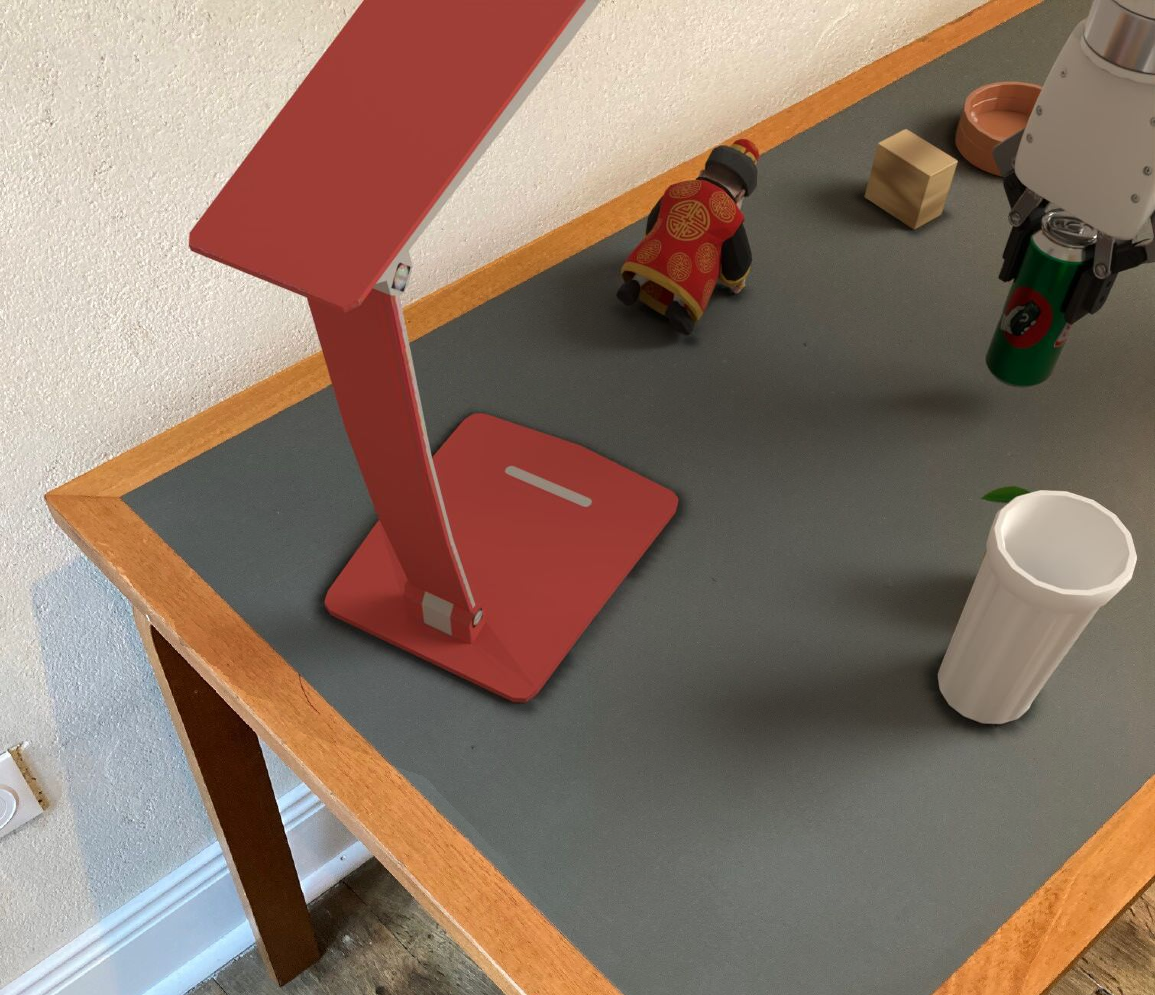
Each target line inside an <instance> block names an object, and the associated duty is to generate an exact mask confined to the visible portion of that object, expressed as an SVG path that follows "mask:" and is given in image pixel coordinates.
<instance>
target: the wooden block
mask: <svg viewBox="0 0 1155 995" xmlns="http://www.w3.org/2000/svg"><path fill="white" fill-rule="evenodd" d="M958 162H959V161H958V159H956V158H954V157H952V156H951V155H950V154H948V153H946V152H944V151H942V150H941V149H940V148H938V147H936V146H935V145H934V144H932V143H930V142H928V141H927V140H925V139H923V138H922V137H920V136H919V135H917V134H915V133H914V132H912V131H910V130H909V129H907V128H905V129H902V130H901V131H898V132H897V133H895V134H893V135H891V136H889V137H887V138H885V139H884V140H881V141H879V142H877V145H876V149H875V153H874V157H873V161H872V164H871V165H872V166H871V169H870V173H869V178H868V181H867V186H866V189H865V194H864V198H865V199H866V200H868V201H870V202H871V203H873V204H874V205H875V206H877V207H878V208H880V209H882V210H883V211H885V212H886V213H888V214H890V215H891V216H892V217H894V218H895V219H897V220H898V221H900V222H902V223H903V224H905V225H906V226H907V227H909V228H911V229H912V230H914V231H915V230H916V229H918V228H920V227H922V226H923V225H926V224H927V223H929V222H930V221H933V220H935V219H936V218H938V217H939V216H941V215H942V213H943V211H944V207H945V204H946V202H947V201H946V200H947V197H948V194H949V191H950V187H951V184H952V181H953V178H954V175H955V171H956V168H957V165H958Z"/></svg>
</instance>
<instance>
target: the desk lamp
mask: <svg viewBox="0 0 1155 995" xmlns="http://www.w3.org/2000/svg"><path fill="white" fill-rule="evenodd" d="M601 1H602V0H362V2H361V3H360V4H359V6H357V8H356V10H355V11H354V12H353V14H352V15H351V16H350V18H349V19H348V20H347V21H346V23H345V24H344V26H343V27H342V28H341V29H340V31H339V32H338V34H337V35H336V36H335V38H334V39H333V40H332V42H331V43H330V44H329V46H328V47H327V48H326V50H325V51H324V52H323V54H322V55H321V57H320V58H319V59H318V61H317V62H316V63H315V64H314V65H313V67H312V69H311V70H310V71H309V72H308V74H306V76H305V78H304V79H303V80H302V82H301V83H300V84H299V86H298V87H297V88H296V90H295V91H294V92H293V94H292V95H291V97H290V98H288V101H287V102H286V103H285V104H284V106H283V107H282V108H281V109H280V111H279V112H278V114H277V115H276V116H275V118H274V119H273V121H272V122H271V123H270V124H269V126H268V127H267V128H266V129H265V131H264V132H263V133H262V135H261V136H260V137H259V139H258V141H257V142H256V143H255V145H254V146H253V147H252V149H251V150H250V151H249V152H248V154H247V155H246V157H245V158H244V159H243V161H242V162H241V163H240V165H239V166H238V167H237V168H236V169H235V171H234V173H232V175H231V176H230V178H229V180H228V181H227V182H226V183H225V184H224V185H223V187H222V188H221V190H220V191H219V193H217V195H216V196H215V198H214V199H213V200H212V202H211V203H210V205H208V207H207V208H206V210H205V211H204V212H203V214H202V215H201V217H200V218H199V219H198V221H196V223H195V225H194V226H193V227H192V229H191V230H190V231H189V235H188V247H189V249H190V251H191V252H192V253H195V254H197V255H200V256H202V257H205V258H207V259H210V260H212V261H215V262H217V263H220V264H222V265H224V266H227V267H230V268H232V269H234V270H237V271H239V272H242V273H244V274H247V275H250V276H252V277H255V278H256V279H259V280H262V281H265V282H267V283H269V284H272V285H274V286H277V287H280V288H282V289H284V290H287V291H289V292H291V293H295V294H297V295H299V296H301V297H304V298H306V300H307V304H308V307H309V310H310V314H311V317H312V320H313V324H314V328H315V332H316V334H317V338H318V341H319V344H320V348H321V352H322V354H323V358H324V362H325V365H326V369H327V372H328V375H329V378H330V379H329V380H330V382H331V385H332V389H333V393H334V396H335V400H336V402H337V403H336V404H337V406H338V410H339V414H340V416H341V419H342V420H341V421H342V423H343V427H344V430H345V433H346V435H347V438H348V440H349V443H350V446H351V449H352V452H353V454H354V457H355V459H356V462H357V465H358V468H359V470H360V473H361V476H362V478H363V481H364V484H365V486H366V489H367V491H368V495H369V497H370V500H371V502H372V506H373V508H374V510H375V513H376V515H377V517H378V521H377V522H376V523H375V525H374V526H373V527H372V529H371V530H370V532H369V533H368V534H367V535H366V537H365V539H364V540H363V541H362V543H361V544H360V545H359V547H358V548H357V550H356V551H355V552H354V554H353V555H352V557H351V558H350V560H348V563H347V564H346V565H345V567H344V568H343V569H342V571H341V572H340V573H339V575H338V576H337V577H336V579H335V581H334V582H333V583H332V585H331V586H330V587H329V589H328V590H327V593H326V595H325V598H324V606H325V609H326V610H327V612H328V613H329V614H330V616H332V617H334V618H337V619H338V620H341V621H343V622H345V623H347V624H348V625H351V626H353V627H355V628H357V629H360V630H362V631H363V632H366V633H368V634H369V635H372V636H374V637H376V638H378V639H380V640H382V641H384V642H387V643H389V644H390V645H393V646H395V647H397V648H399V649H401V650H403V651H406V652H407V653H410V654H411V655H414V656H416V657H418V658H420V659H422V660H424V661H426V662H429V663H431V664H433V665H435V666H437V667H439V668H441V669H443V670H445V671H448V672H450V673H451V674H454V675H456V676H458V677H460V678H462V679H464V680H465V681H468V682H470V683H472V684H474V685H477V686H479V687H481V688H483V689H485V690H487V691H489V692H491V693H493V694H495V695H497V696H500V697H501V698H504V699H506V700H508V701H510V702H512V703H527V702H529V701H530V700H532V699H533V698H534V697H536V696H537V695H538V694H539V693H540V691H541V690H542V688H543V687H544V686H545V684H546V683H547V681H548V680H549V679H550V677H551V676H552V675H553V673H554V672H555V671H556V669H557V668H558V667H559V665H560V664H561V663H562V661H563V660H564V659H565V658H566V656H567V655H568V653H569V652H570V650H571V649H572V648H573V647H574V645H575V644H576V643H577V642H578V640H579V639H580V638H581V636H582V635H583V633H584V632H585V630H587V628H588V627H589V625H590V624H591V623H592V621H593V620H594V618H595V617H597V615H598V613H599V612H600V611H601V610H602V609H603V607H604V606H605V604H606V603H607V602H608V601H609V599H610V598H611V597H612V595H613V594H614V593H615V592H616V591H617V589H618V588H619V587H620V585H621V584H622V582H623V581H624V580H625V579H626V577H627V576H628V575H629V574H630V572H631V571H632V570H633V568H634V567H635V565H636V564H637V563H638V562H639V561H640V559H641V558H642V557H643V555H644V554H645V553H646V551H648V549H649V548H650V546H651V545H652V544H653V542H655V540H656V538H657V537H658V536H659V535H660V533H661V532H662V531H663V530H664V528H665V527H666V526H667V525H668V523H669V522H670V520H671V519H673V516H674V515H675V514H676V513H677V509H678V505H679V497H678V496H677V495H676V493H675V492H674V491H673V490H671V489H669V488H668V487H665V486H663V485H661V484H659V483H657V482H655V481H653V480H651V479H649V478H647V477H645V476H644V475H643V476H642V475H641V474H639V473H637V472H635V471H633V470H631V469H628V468H627V467H625V466H622V465H621V464H619V463H618V462H614V461H613V460H611V459H609V458H607V457H605V456H603V455H601V454H600V453H597V452H595V451H593V450H591V449H589V448H587V447H585V446H583V445H580V444H577V443H574V442H572V441H569V440H565V439H562V438H559V437H556V436H553V435H551V434H547V433H544V432H542V431H539V430H536V429H532V428H529V427H527V426H524V425H520V424H517V423H514V422H511V421H508V420H505V419H502V418H499V417H496V416H494V415H491V414H487V413H484V412H483V413H482V412H481V413H472V414H471V415H468V417H466V418H465V419H463V420H462V422H461V423H460V424H459V425H458V426H457V428H456V429H455V430H454V431H453V432H452V433H451V434H450V435H449V437H448V438H447V439H446V441H445V442H444V443H443V444H442V445H441V446H440V448H439V449H438V450H437V451H436V452H435V454H434V455H433V456H432V452H431V446H430V442H429V437H428V436H429V435H428V432H427V426H426V420H425V416H424V412H423V407H422V406H423V405H422V402H421V397H420V396H421V395H420V391H419V386H418V381H417V376H416V371H415V366H414V361H413V355H412V352H411V347H410V341H409V336H408V331H407V325H406V321H405V315H404V311H403V307H402V300H401V297H402V296H403V294H404V293H405V291H406V290H407V288H408V287H409V285H410V280H411V275H412V270H413V261H412V258H411V254H410V250H411V249H412V247H413V246H414V245H415V243H417V241H418V240H419V238H420V237H421V236H422V235H423V233H424V232H425V231H426V229H427V228H428V227H429V225H431V223H432V222H433V220H434V219H435V218H436V216H438V214H439V212H440V211H441V210H442V209H443V207H444V206H445V205H446V204H447V202H448V201H449V200H450V198H451V197H452V196H453V195H454V193H455V192H456V191H457V189H458V188H459V187H460V186H461V184H462V183H463V182H464V180H465V179H466V177H467V176H468V175H469V174H470V172H471V171H472V170H473V169H474V167H475V166H476V165H477V164H478V162H479V161H480V160H481V158H482V157H483V156H484V154H485V153H486V152H487V151H488V150H489V148H490V147H491V145H492V144H493V143H494V141H495V140H496V139H497V138H498V136H499V135H500V134H501V133H502V131H503V130H504V128H505V127H506V126H507V125H508V123H509V122H510V121H511V119H512V118H513V117H514V116H515V114H516V113H517V112H518V110H519V109H520V108H521V107H522V106H523V104H524V102H525V101H526V100H527V99H528V97H530V95H531V94H532V92H533V91H534V90H535V89H536V87H537V86H538V84H539V83H540V82H541V81H542V79H543V78H544V77H545V76H546V74H547V73H548V71H550V69H551V68H552V66H553V65H554V64H555V62H556V61H557V60H558V59H559V58H560V56H562V53H563V52H564V51H565V50H566V49H567V47H568V46H569V44H570V43H571V42H572V40H573V39H574V38H575V36H576V35H577V34H578V32H579V31H580V29H581V28H582V27H583V25H585V23H586V21H587V20H588V19H589V17H590V16H591V15H592V14H593V12H594V11H595V10H596V8H597V7H598V6H599V4H600V3H601Z"/></svg>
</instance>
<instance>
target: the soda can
mask: <svg viewBox="0 0 1155 995" xmlns="http://www.w3.org/2000/svg"><path fill="white" fill-rule="evenodd" d="M1097 231H1098V230H1097V229H1095V228H1094V227H1092V226H1090V225H1089V224H1087V223H1085V222H1084V221H1082V220H1080V219H1078V218H1077V217H1075V216H1073V215H1072V214H1070V213H1068V212H1066V211H1065V210H1063V209H1061V208H1060V207H1054V208H1052V209H1050V210H1048V211H1047V212H1046V214H1045V215H1044V216H1043V218H1042V220H1041V221H1040V222H1039V223H1038V224H1037V225H1035V226H1034V228H1033V229H1032V231H1031V234H1030V237H1029V239H1028V242H1027V245H1026V247H1025V250H1024V253H1023V256H1022V258H1021V261H1020V264H1019V266H1018V269H1017V272H1016V275H1015V277H1014V279H1013V280H1012V283H1011V286H1010V289H1009V291H1008V295H1007V296H1006V299H1005V302H1004V305H1003V308H1002V310H1001V313H1000V316H999V318H998V321H997V324H996V327H995V330H994V332H993V335H992V337H991V340H990V342H989V345H988V348H987V350H986V354H985V364H986V367H987V369H988V371H989V372H990V374H991V375H992V376H993V377H994V378H995V379H996V380H997V381H999V382H1000V383H1002V384H1004V385H1007V386H1009V387H1013V388H1020V389H1021V388H1022V389H1025V388H1031V387H1035V386H1038V385H1040V384H1042V383H1044V382H1046V381H1047V380H1048V379H1049V378H1050V377H1051V376H1052V374H1053V372H1054V370H1055V367H1056V365H1057V363H1058V361H1059V359H1060V357H1061V354H1062V352H1063V350H1064V348H1065V344H1066V342H1067V341H1068V338H1069V336H1070V334H1071V331H1072V329H1073V327H1074V324H1072V325H1070V324H1069V323H1067V322H1065V318H1064V315H1065V312H1066V310H1067V307H1068V305H1069V303H1070V300H1071V298H1072V296H1073V293H1074V291H1075V288H1076V286H1077V284H1078V281H1079V279H1080V277H1081V275H1082V273H1083V272H1084V271H1085V270H1087V269H1088V268H1090V267H1091V266H1093V263H1094V255H1095V247H1096V239H1097Z"/></svg>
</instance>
